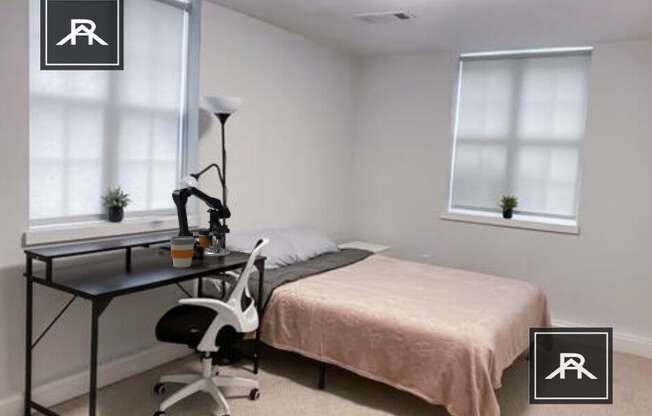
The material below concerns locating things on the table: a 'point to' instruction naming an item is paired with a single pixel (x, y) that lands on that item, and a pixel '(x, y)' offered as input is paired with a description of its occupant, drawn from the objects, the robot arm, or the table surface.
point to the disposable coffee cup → (204, 241)
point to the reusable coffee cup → (182, 250)
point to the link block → (213, 244)
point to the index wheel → (217, 250)
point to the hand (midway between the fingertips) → (214, 245)
